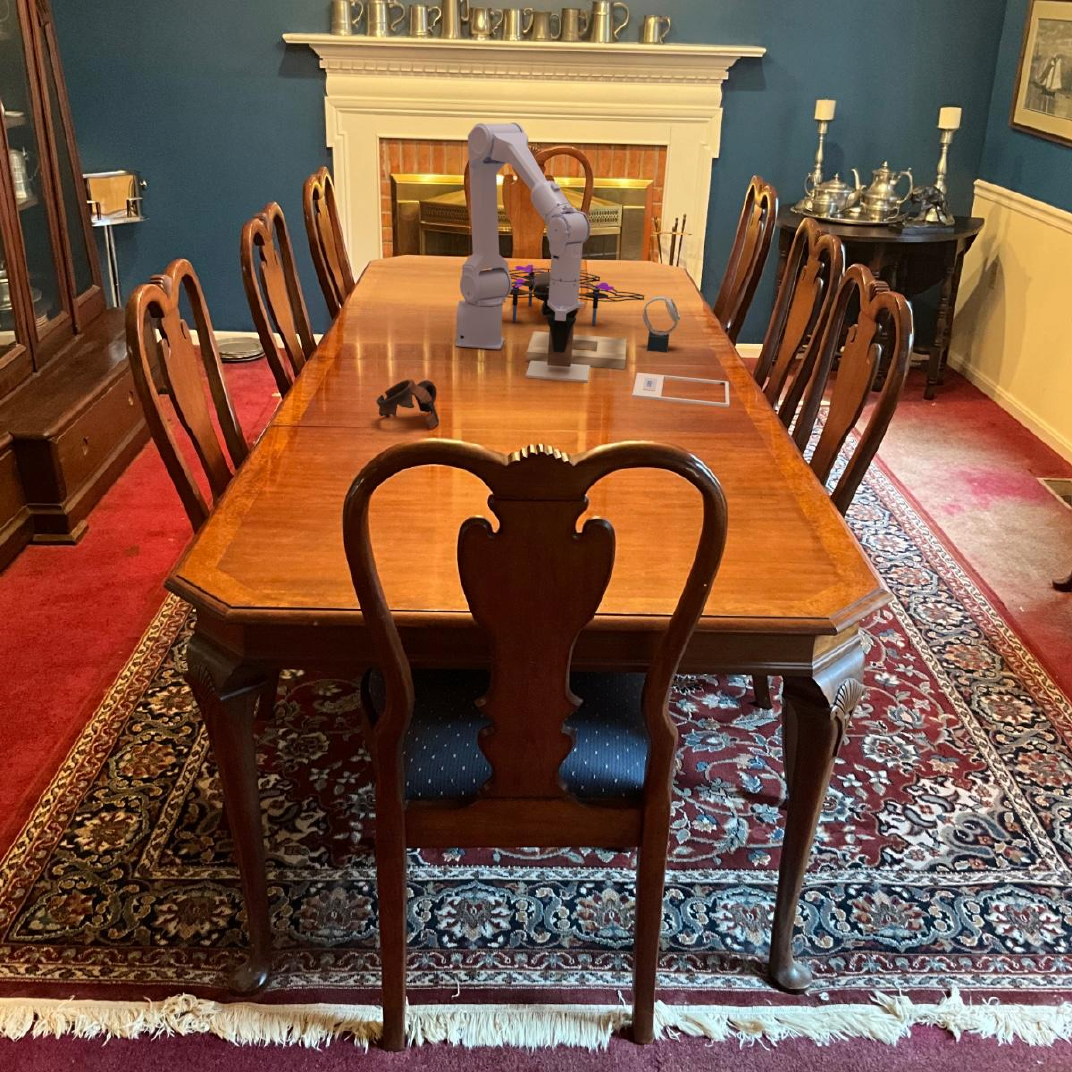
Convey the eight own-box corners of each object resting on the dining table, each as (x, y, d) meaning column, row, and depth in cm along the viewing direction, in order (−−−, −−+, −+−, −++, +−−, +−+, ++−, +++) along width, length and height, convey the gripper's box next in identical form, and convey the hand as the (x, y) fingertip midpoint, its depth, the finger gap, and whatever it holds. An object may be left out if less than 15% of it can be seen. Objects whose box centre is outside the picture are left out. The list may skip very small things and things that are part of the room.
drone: (468, 283, 233) (467, 257, 258) (466, 326, 237) (465, 297, 263) (648, 291, 237) (629, 264, 262) (643, 333, 241) (626, 303, 266)
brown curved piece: (427, 439, 174) (402, 397, 171) (386, 451, 180) (360, 410, 176) (460, 402, 183) (436, 361, 179) (420, 414, 188) (396, 374, 185)
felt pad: (525, 377, 206) (525, 375, 206) (530, 362, 215) (530, 360, 215) (587, 382, 205) (587, 380, 205) (589, 367, 214) (590, 365, 214)
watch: (676, 353, 228) (682, 302, 223) (638, 349, 228) (643, 298, 224) (676, 346, 233) (682, 296, 228) (640, 342, 233) (645, 292, 229)
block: (547, 365, 207) (549, 324, 204) (548, 358, 211) (551, 319, 208) (570, 367, 207) (573, 326, 204) (571, 360, 211) (574, 320, 208)
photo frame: (637, 371, 211) (728, 380, 209) (636, 377, 212) (727, 386, 210) (632, 393, 198) (729, 403, 196) (631, 399, 199) (728, 409, 197)
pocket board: (526, 361, 216) (526, 351, 215) (533, 340, 230) (533, 331, 229) (624, 369, 215) (625, 359, 214) (625, 347, 229) (626, 338, 228)
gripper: (584, 288, 195) (578, 360, 201) (587, 272, 208) (582, 340, 214) (545, 285, 196) (541, 357, 202) (551, 269, 209) (547, 337, 215)
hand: (560, 348), depth 208 cm, fingers closed on block, 4 cm apart
